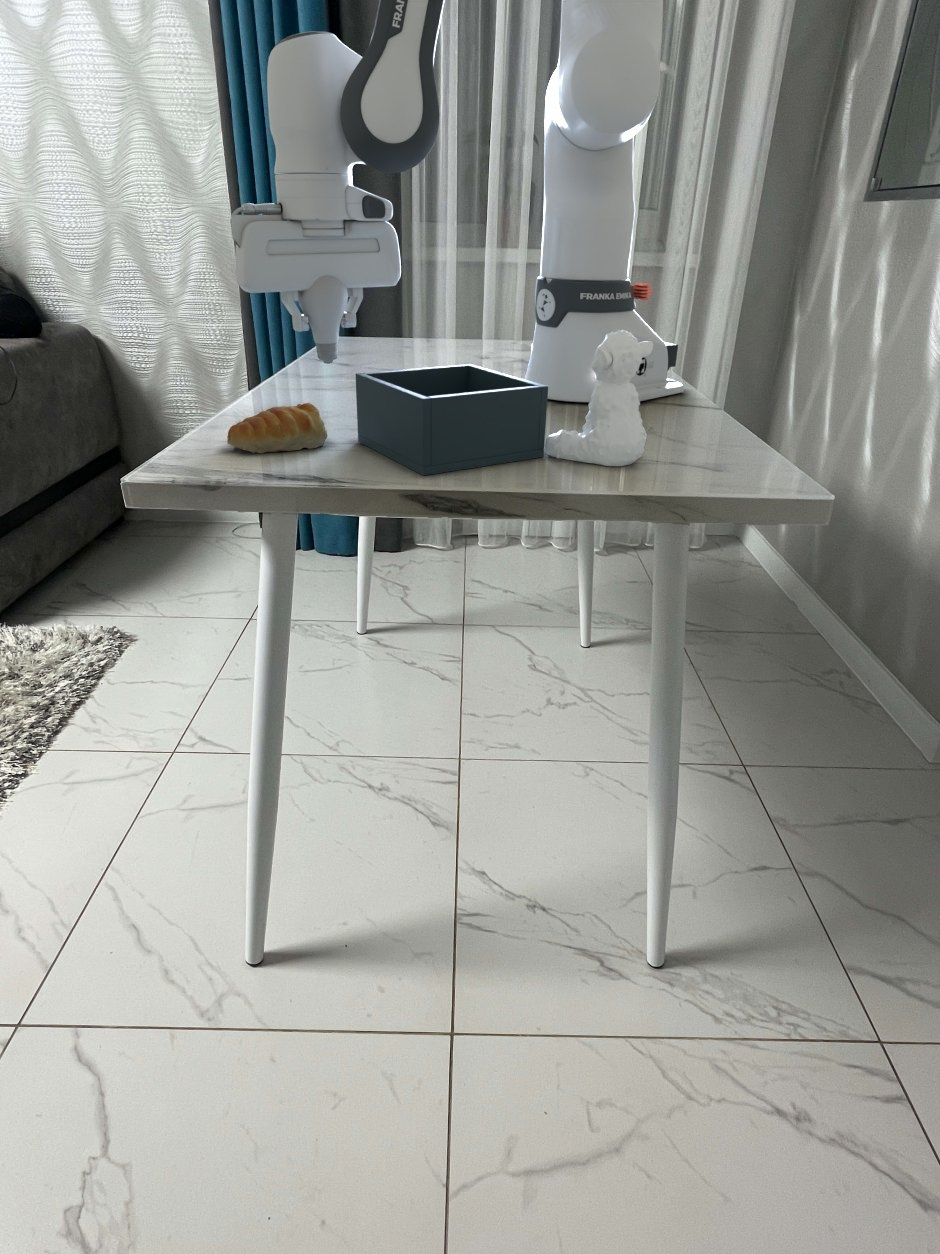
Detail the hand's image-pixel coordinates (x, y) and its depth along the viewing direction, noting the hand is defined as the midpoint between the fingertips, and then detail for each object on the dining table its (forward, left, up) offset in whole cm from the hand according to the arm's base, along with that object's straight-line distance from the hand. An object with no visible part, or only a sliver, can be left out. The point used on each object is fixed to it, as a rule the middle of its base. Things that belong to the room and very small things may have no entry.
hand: (325, 328), depth 101 cm
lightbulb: (0, 0, -4) cm, 4 cm away
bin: (+1, +31, -8) cm, 32 cm away
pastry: (+15, +22, -8) cm, 27 cm away
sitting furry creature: (-11, +41, -8) cm, 43 cm away
